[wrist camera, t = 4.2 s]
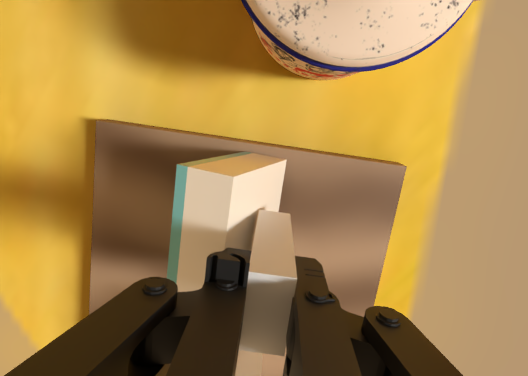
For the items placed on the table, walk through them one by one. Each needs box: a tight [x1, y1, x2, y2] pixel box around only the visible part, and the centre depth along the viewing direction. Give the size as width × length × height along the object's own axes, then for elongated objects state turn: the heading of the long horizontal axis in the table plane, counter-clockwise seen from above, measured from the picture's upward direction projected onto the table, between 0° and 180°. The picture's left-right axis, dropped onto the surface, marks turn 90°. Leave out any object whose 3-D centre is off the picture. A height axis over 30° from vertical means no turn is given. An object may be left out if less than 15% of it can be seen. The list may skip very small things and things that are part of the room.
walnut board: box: [89, 120, 406, 376], centre depth 23 cm, size 17×18×2 cm
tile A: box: [167, 152, 287, 292], centre depth 18 cm, size 7×2×7 cm, turn 172°
